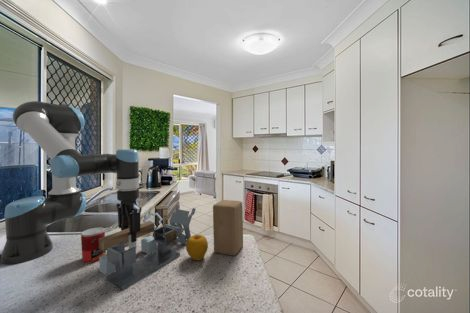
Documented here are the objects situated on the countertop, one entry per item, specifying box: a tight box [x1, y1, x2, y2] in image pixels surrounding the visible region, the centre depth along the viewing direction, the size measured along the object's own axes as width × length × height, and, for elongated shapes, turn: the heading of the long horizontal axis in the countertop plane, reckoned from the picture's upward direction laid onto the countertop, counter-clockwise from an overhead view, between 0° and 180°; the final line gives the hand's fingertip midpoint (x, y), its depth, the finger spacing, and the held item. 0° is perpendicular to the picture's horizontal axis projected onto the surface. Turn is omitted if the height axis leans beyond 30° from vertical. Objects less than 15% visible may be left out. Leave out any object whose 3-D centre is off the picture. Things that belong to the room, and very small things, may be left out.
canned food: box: [80, 226, 107, 264], centre depth 80 cm, size 8×8×11 cm
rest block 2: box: [140, 235, 158, 255], centre depth 85 cm, size 5×4×5 cm
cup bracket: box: [105, 225, 181, 291], centre depth 73 cm, size 10×23×11 cm, turn 148°
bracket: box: [163, 204, 197, 246], centre depth 94 cm, size 13×10×15 cm
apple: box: [185, 234, 209, 261], centre depth 78 cm, size 8×8×9 cm
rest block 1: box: [98, 253, 116, 276], centre depth 72 cm, size 5×4×5 cm
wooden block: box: [212, 199, 244, 257], centre depth 85 cm, size 10×10×20 cm
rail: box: [99, 220, 155, 252], centre depth 78 cm, size 4×20×4 cm, turn 148°
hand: (129, 247), depth 79 cm, fingers closed on rail, 4 cm apart
